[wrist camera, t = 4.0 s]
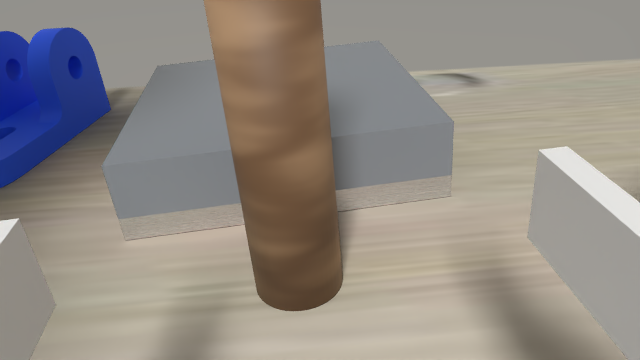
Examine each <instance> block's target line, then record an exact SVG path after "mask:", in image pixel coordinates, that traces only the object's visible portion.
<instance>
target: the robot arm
mask: <svg viewBox="0 0 640 360" xmlns="http://www.w3.org/2000/svg"><path fill="white" fill-rule="evenodd" d="M527 238H528V239H529V240H530V241H531V242H532V244H533V245H534V246H535V247H536V248H537V250H538V251H539V252H540V253H541V255H542V256H543V257H544V258H545V259H546V261H547V262H548V263H549V264H550V265H551V267H552V268H553V269H554V270H555V271H556V273H557V274H558V275H559V276H560V278H561V279H562V280H563V281H564V282H565V284H566V285H567V286H568V287H569V288H570V290H571V291H572V292H573V293H574V295H575V296H576V297H577V298H578V299H579V301H580V302H581V303H582V304H583V305H584V307H585V308H586V309H587V310H588V311H589V313H590V314H591V315H592V316H593V318H594V319H595V320H596V321H597V322H598V324H599V325H600V326H601V327H602V328H603V330H604V331H605V332H606V333H607V334H608V336H609V337H610V338H611V339H612V341H613V342H614V343H615V344H616V345H617V347H618V348H619V349H620V350H621V351H622V353H623V354H624V355H625V356H626V357H627V359H628V360H640V202H638V201H637V200H636V199H635V198H633V197H632V196H631V195H629V194H628V193H627V192H625V191H624V190H623V189H622V188H620V187H619V186H618V185H616V184H615V183H614V182H613V181H611V180H610V179H609V178H607V177H606V176H605V175H603V174H602V173H601V172H600V171H598V170H597V169H596V168H594V167H593V166H592V165H591V164H589V163H588V162H587V161H585V160H584V159H583V158H581V157H580V156H579V155H578V154H576V153H575V152H574V151H572V150H571V149H570V148H568V147H567V146H566V147H558V148H551V149H543V150H539V151H538V159H537V167H536V174H535V182H534V190H533V198H532V206H531V213H530V221H529V229H528V237H527ZM55 306H56V303H55V301H54V299H53V296H52V294H51V292H50V289H49V287H48V285H47V282H46V280H45V278H44V275H43V273H42V271H41V268H40V266H39V264H38V261H37V259H36V257H35V254H34V252H33V250H32V247H31V245H30V243H29V240H28V238H27V236H26V233H25V231H24V229H23V226H22V224H21V222H20V219H19V218H18V219H10V220H3V221H0V360H30V358H31V356H32V353H33V351H34V349H35V347H36V345H37V343H38V341H39V339H40V337H41V335H42V333H43V331H44V329H45V326H46V324H47V322H48V320H49V318H50V316H51V314H52V312H53V310H54V308H55Z"/></svg>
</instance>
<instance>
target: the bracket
mask: <svg viewBox="0 0 640 360" xmlns="http://www.w3.org/2000/svg"><path fill="white" fill-rule="evenodd" d="M110 110H111V108H110V104H109V101H108V98H107V94H106V91H105V87H104V84H103V81H102V77H101V74H100V71H99V67H98V64H97V61H96V57H95V54H94V51H93V49H92V47H91V45H90V43H89V41H88V40H87V39H86V37H85V36H84V35H83V34H81V32H79V31H78V30H76V29H73V28H54V29H43V30H40V31H39V32H37V33H36V34H35V36H34V37H33V38H32V40H31V42H30V44H28V42H27V41H26V40H25V39H23V38H22V37H21V36H20V35H18V34H16V33H14V32H9V31H2V32H0V188H1V187H3V186H5V185H8V184H10V183H11V182H13V181H15V180H17V179H18V178H20V177H21V176H23V175H24V174H25V173H27V172H28V171H29V170H31V169H32V168H33V167H35V166H36V165H37V164H39V163H40V162H41V161H43V160H44V159H45V158H47V157H48V156H49V155H51V154H52V153H54V152H55V151H56V150H58V149H59V148H60V147H62V146H63V145H64V144H66V143H67V142H68V141H70V140H71V139H72V138H74V137H75V136H76V135H78V134H79V133H80V132H82V131H83V130H84V129H86V128H87V127H88V126H90V125H91V124H92V123H94V122H95V121H96V120H98V119H99V118H100V117H102V116H103V115H104V114H106V113H107V112H108V111H110Z"/></svg>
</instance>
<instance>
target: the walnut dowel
mask: <svg viewBox="0 0 640 360" xmlns="http://www.w3.org/2000/svg"><path fill="white" fill-rule="evenodd" d="M204 5H205V10H206V16H207V21H208V27H209V32H210V37H211V43H212V48H213V54H214V59H215V65H216V70H217V76H218V81H219V87H220V92H221V97H222V103H223V108H224V114H225V119H226V125H227V130H228V136H229V141H230V147H231V152H232V157H233V163H234V168H235V174H236V179H237V185H238V190H239V196H240V201H241V206H242V212H243V217H244V223H245V228H246V234H247V239H248V245H249V250H250V256H251V261H252V266H253V272H254V277H255V283H256V288H257V292H258V295H259V296H260V298H261V299H262V300H263V301H264V302H265V303H266V304H268V305H270V306H272V307H274V308H277V309H280V310H285V311H302V310H308V309H312V308H315V307H318V306H320V305H322V304H324V303H326V302H328V301H329V300H330V299H332V298H333V297H334V296H335V295H336V294H337V293H338V291H339V290H340V288H341V285H342V280H343V277H342V264H341V252H340V239H339V227H338V214H337V202H336V190H335V177H334V165H333V152H332V140H331V127H330V115H329V102H328V90H327V78H326V65H325V53H324V40H323V28H322V17H321V3H320V0H204Z"/></svg>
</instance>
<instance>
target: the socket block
mask: <svg viewBox="0 0 640 360" xmlns="http://www.w3.org/2000/svg"><path fill="white" fill-rule="evenodd" d="M324 53H325V65H326V78H327V90H328V102H329V115H330V127H331V140H332V152H333V165H334V177H335V190H336V202H337V212H338V211H345V210H353V209H360V208H367V207H375V206H382V205H390V204H397V203H404V202H412V201H419V200H426V199H434V198H441V197H449V196H451V179H452V155H453V131H454V121H453V120H452V119H451V118H450V117H449V116H448V115H447V114H446V113H445V112H444V111H443V109H442V108H441V107H440V106H439V105H438V104H437V103H436V102H435V101H434V100H433V99H432V98H431V96H430V95H429V94H428V93H427V92H426V91H425V90H424V89H423V88H422V87H421V86H420V85H419V84H418V82H417V81H416V80H415V79H414V78H413V77H412V76H411V75H410V74H409V73H408V72H407V71H406V69H405V68H404V67H403V66H402V65H401V64H400V63H399V62H398V61H397V60H396V59H395V58H394V57H393V55H392V54H391V53H389V51H388V50H387V49H386V48H385V47H384V46H383V45H382V44H381V43H380V42H379V41H371V42H363V43H354V44H345V45H336V46H327V47H324ZM102 170H103V173H104V176H105V179H106V182H107V185H108V188H109V191H110V194H111V198H112V201H113V204H114V207H115V210H116V213H117V216H118V219H119V222H120V226H121V229H122V232H123V235H124V238H125V240H132V239H139V238H146V237H154V236H161V235H168V234H176V233H183V232H191V231H198V230H205V229H213V228H220V227H227V226H235V225H242V224H245V223H244V217H243V212H242V206H241V201H240V196H239V190H238V185H237V179H236V174H235V168H234V163H233V157H232V152H231V147H230V141H229V136H228V130H227V125H226V119H225V114H224V108H223V103H222V97H221V92H220V87H219V81H218V76H217V70H216V65H215V59H214V60H206V61H197V62H188V63H180V64H171V65H164V66H163V65H162V66H157V68H156V70H155V72H154V73H153V75H152V77H151V79H150V81H149V82H148V84H147V86H146V88H145V89H144V91H143V93H142V95H141V96H140V98H139V100H138V102H137V104H136V105H135V107H134V109H133V111H132V113H131V114H130V116H129V118H128V120H127V121H126V123H125V125H124V127H123V129H122V130H121V132H120V134H119V136H118V138H117V139H116V141H115V143H114V145H113V146H112V148H111V150H110V152H109V154H108V155H107V157H106V159H105V161H104V163H103V164H102Z"/></svg>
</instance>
